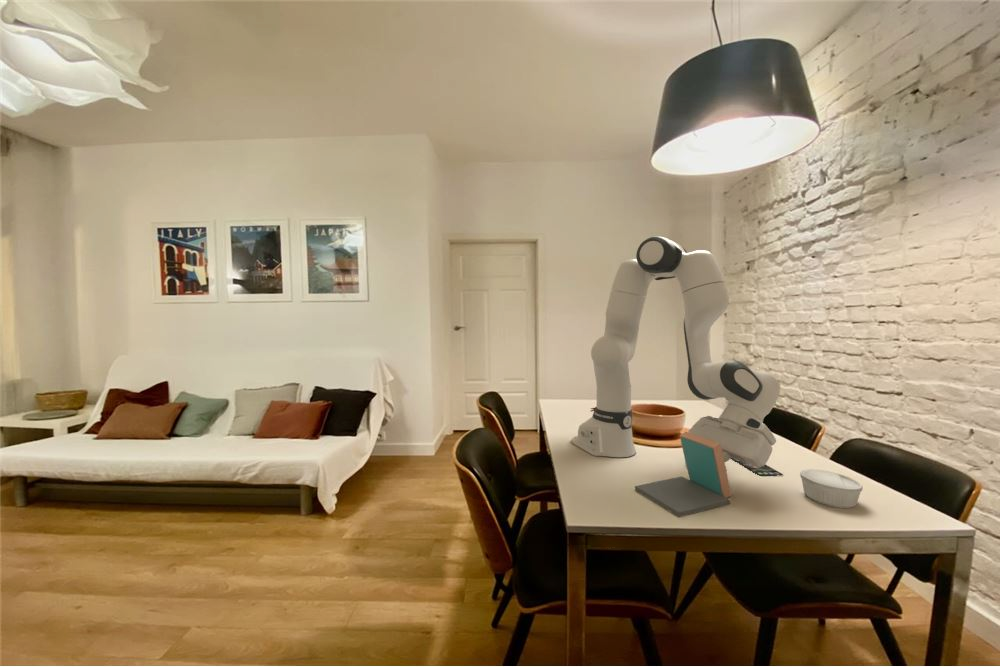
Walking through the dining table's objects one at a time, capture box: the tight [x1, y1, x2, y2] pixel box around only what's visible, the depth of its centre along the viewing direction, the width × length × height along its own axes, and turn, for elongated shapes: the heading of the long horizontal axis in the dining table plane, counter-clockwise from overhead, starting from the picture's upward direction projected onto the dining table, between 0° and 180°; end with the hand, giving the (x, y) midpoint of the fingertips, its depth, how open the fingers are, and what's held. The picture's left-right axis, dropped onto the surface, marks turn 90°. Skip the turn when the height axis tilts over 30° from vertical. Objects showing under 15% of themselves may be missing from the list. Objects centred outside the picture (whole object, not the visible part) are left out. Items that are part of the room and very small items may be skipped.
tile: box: [679, 431, 732, 498], centre depth 94 cm, size 10×3×14 cm, turn 21°
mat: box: [634, 476, 731, 518], centre depth 92 cm, size 14×16×1 cm
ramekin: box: [799, 468, 863, 509], centre depth 90 cm, size 11×11×5 cm
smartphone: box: [729, 458, 784, 477], centre depth 111 cm, size 7×1×15 cm
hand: (710, 465), depth 95 cm, fingers closed
